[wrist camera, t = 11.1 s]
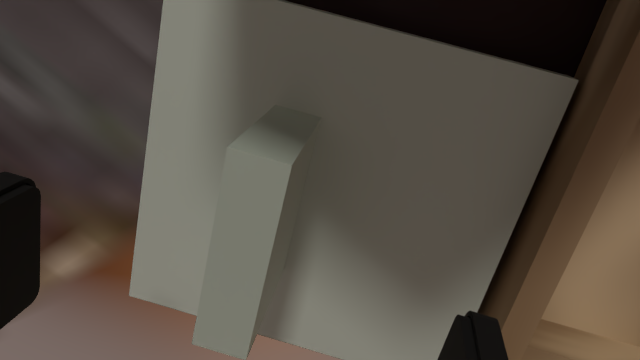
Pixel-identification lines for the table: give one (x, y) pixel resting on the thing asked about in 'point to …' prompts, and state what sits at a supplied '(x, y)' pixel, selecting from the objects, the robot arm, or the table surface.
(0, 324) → the robot arm
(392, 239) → the cover plate
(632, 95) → the oak box
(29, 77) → the table surface
